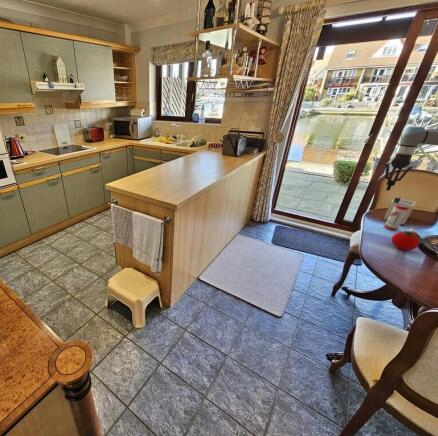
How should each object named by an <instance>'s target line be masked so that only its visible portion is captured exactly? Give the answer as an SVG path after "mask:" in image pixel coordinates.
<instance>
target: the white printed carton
mask: <svg viewBox="0 0 438 436" xmlns="http://www.w3.org/2000/svg"><path fill="white" fill-rule="evenodd" d="M397 204H404V205H407V206H408V212H407V213H406V215H405V217H404V219H403V221H402V222H401V224H400V226H405V225H406V223H407V222H408V221H409V219H408V218H409V217H410V215H411V214H412V212H413V210H414V208H415V205H416V204H417V202H416V201H411V200H407V199H402V198H401V199H400V201H399V203H396V202H394V199H393V200H392V201H391V202H390V203H389V206H388V208H387V210H386V213H385V214H384V217H383V218H382V221H385V222H387V220H388V218H389V216H390V214H391V212H392V210H393V208H394V207H395V206H396V205H397Z"/></svg>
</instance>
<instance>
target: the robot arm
mask: <svg viewBox="0 0 438 436" xmlns="http://www.w3.org/2000/svg"><path fill="white" fill-rule="evenodd" d="M418 145H429V146H438V128H433V127H430V128H426V127H425V126H418V125H411V126H408V127H406V130H405V131H404V133H403V136H402V138H401V140H400V143H399V145H398V148H397V150H396V153H394V157H393V159H392V160H391V161H390V162H386V163H384V165H385V175H384V179H386V180H387V181H386V183H385V185H387V187H386V189H385V191H388V192H389V191H391V188H392V187H394V186H395V185H396V183H397V182H400V181H402V179H403V178H404V177H405V176H406V175H407V174H408V172H409V171H410V170H412V169H414V166H413V165H411V160H412V158H413V154H414V153H415V151H416V149H417V147H418ZM391 166H392V170H391V171H390V168H391ZM405 168H406V170H404V172H403V173H402V170H403V169H405ZM396 170H397V171H396ZM395 172H396V174H395ZM400 174H401V175H400ZM394 175H395V176H394ZM393 177H394V178H393Z"/></svg>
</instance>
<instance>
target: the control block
mask: <svg viewBox="0 0 438 436" xmlns="http://www.w3.org/2000/svg"><path fill="white" fill-rule="evenodd" d="M417 237H418V239H419V245H418V246H417V247H419V246H420V247H421V245H422V243H423V241H424V237H422V236H421V235H420V234H418V235H417Z"/></svg>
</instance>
